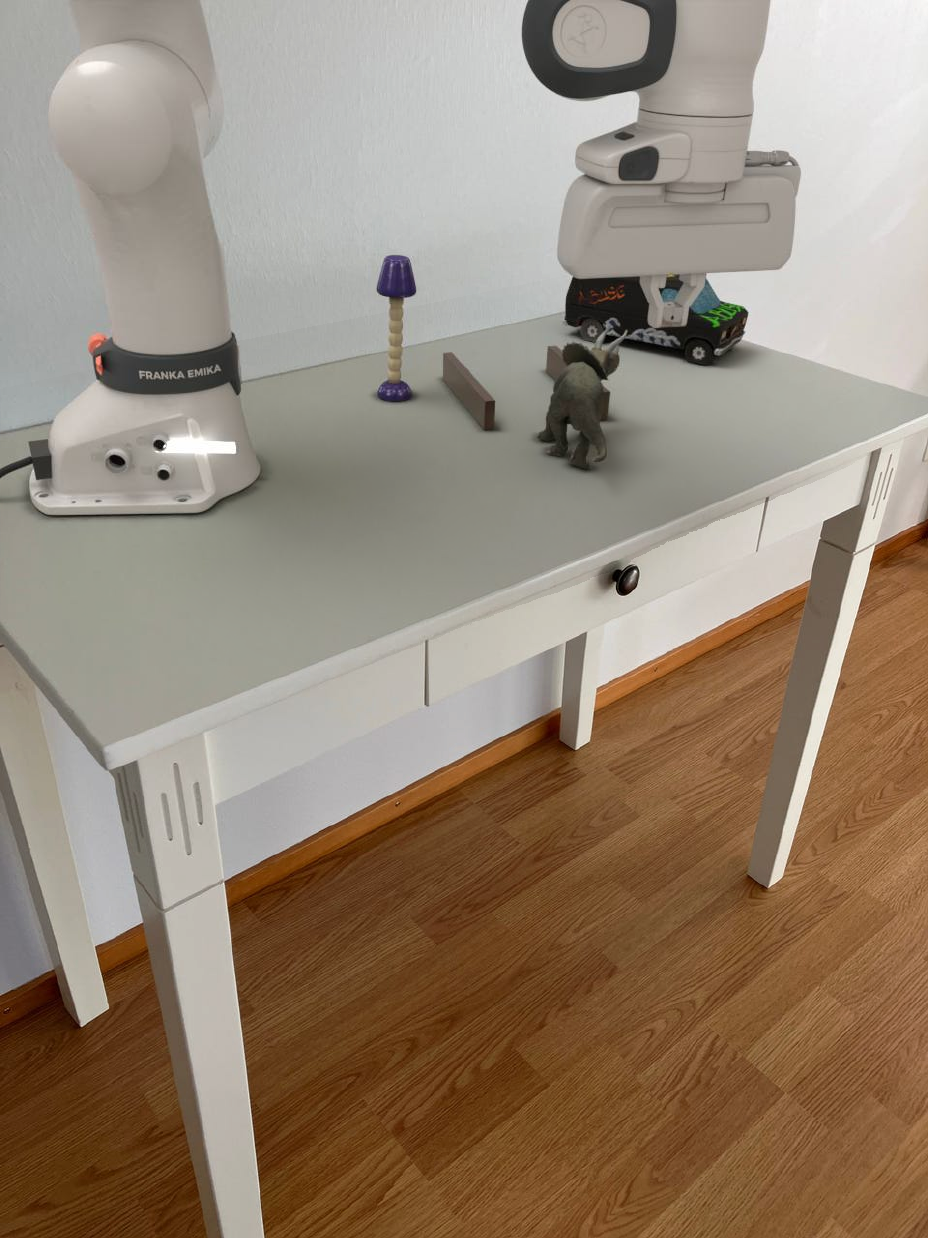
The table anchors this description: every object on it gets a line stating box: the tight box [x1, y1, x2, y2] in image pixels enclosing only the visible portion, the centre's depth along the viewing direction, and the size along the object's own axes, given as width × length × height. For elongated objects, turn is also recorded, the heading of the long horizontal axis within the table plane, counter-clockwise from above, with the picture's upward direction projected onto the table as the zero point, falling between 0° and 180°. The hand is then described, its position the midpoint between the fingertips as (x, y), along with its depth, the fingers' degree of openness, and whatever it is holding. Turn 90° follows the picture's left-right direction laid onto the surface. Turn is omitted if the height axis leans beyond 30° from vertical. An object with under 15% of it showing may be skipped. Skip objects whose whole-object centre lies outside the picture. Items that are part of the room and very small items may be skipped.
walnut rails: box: [442, 345, 611, 431], centre depth 126 cm, size 15×18×4 cm
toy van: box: [561, 274, 750, 366], centre depth 146 cm, size 11×25×10 cm, turn 57°
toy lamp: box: [376, 254, 417, 402], centre depth 122 cm, size 5×5×17 cm
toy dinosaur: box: [537, 327, 627, 470], centre depth 110 cm, size 22×8×11 cm, turn 168°
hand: (666, 325), depth 89 cm, fingers closed
